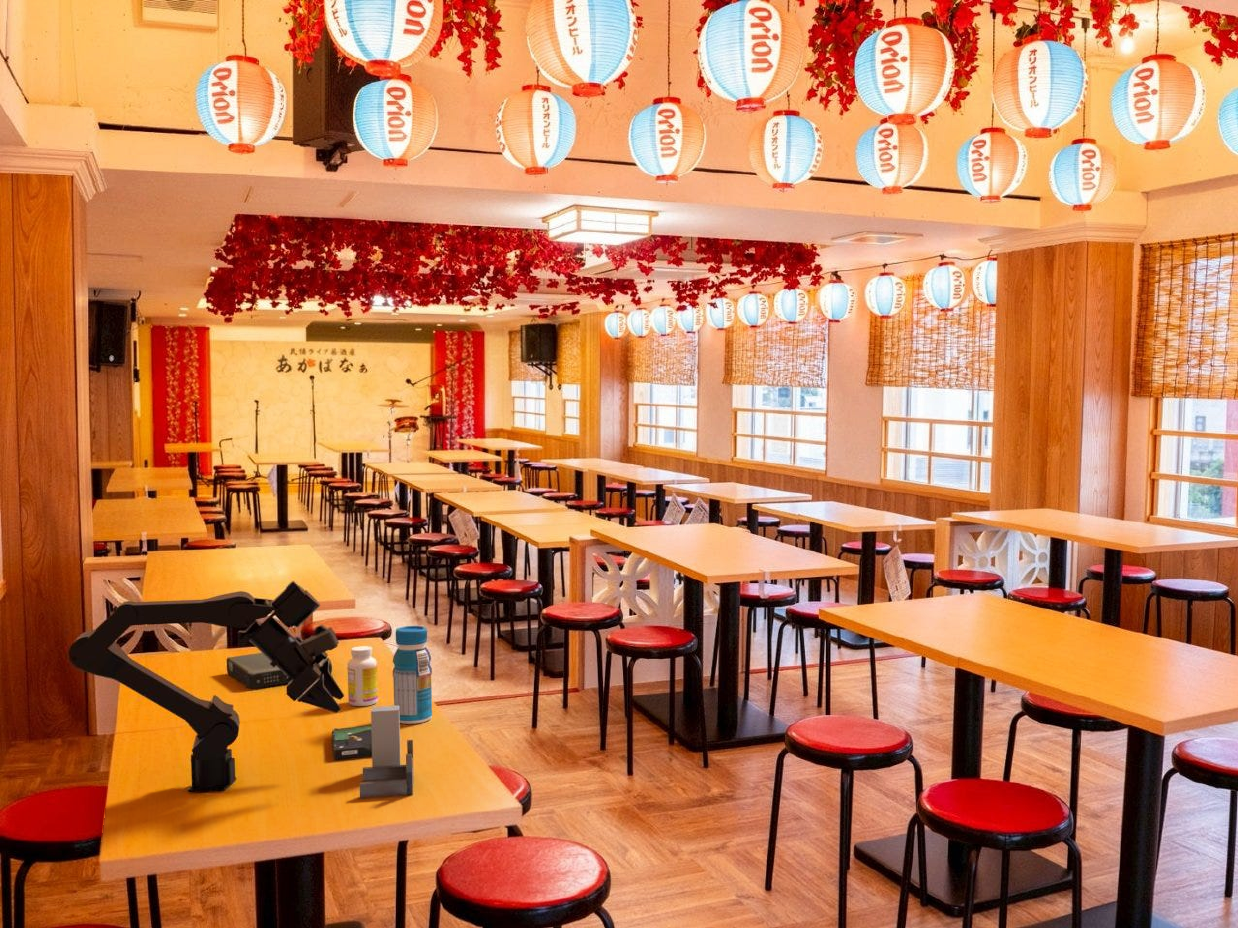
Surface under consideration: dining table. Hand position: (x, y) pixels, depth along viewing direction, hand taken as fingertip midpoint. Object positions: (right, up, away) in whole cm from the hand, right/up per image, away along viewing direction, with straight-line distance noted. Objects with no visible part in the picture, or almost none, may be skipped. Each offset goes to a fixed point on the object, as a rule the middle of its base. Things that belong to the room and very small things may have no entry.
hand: (340, 704), depth 196 cm
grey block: (+8, -13, +2) cm, 15 cm away
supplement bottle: (-8, -11, +49) cm, 51 cm away
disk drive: (-1, -13, +17) cm, 22 cm away
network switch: (-36, -11, +76) cm, 85 cm away
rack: (+10, -13, -7) cm, 18 cm away
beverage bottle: (+7, -12, +35) cm, 38 cm away
